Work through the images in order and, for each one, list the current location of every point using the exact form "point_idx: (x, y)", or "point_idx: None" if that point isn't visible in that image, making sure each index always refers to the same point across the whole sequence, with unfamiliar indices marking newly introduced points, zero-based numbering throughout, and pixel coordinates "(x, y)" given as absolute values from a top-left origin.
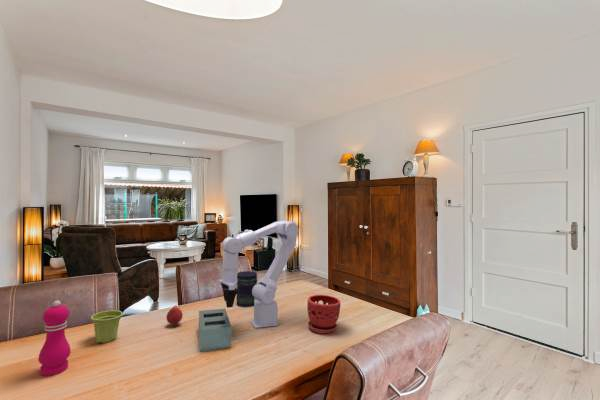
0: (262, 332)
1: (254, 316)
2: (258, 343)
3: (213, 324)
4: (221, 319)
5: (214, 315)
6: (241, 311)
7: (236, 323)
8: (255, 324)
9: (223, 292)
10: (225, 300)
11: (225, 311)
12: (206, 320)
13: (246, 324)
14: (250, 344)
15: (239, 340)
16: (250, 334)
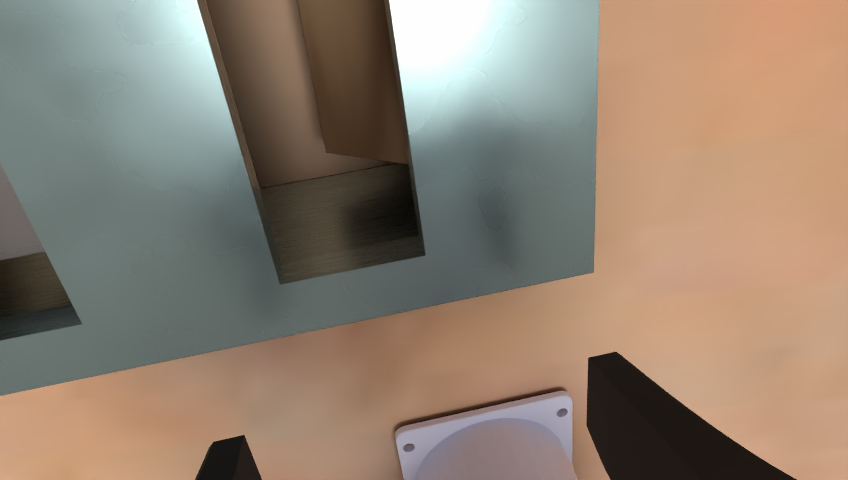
0: (306, 476)
1: (490, 478)
2: (80, 468)
3: (371, 78)
4: (106, 277)
5: (404, 126)
6: (830, 293)
7: None
8: (452, 433)
9: (691, 473)
10: (594, 376)
11: (463, 289)
12: (25, 31)
13: (502, 356)
14: (52, 419)
15: None
16: (270, 402)
